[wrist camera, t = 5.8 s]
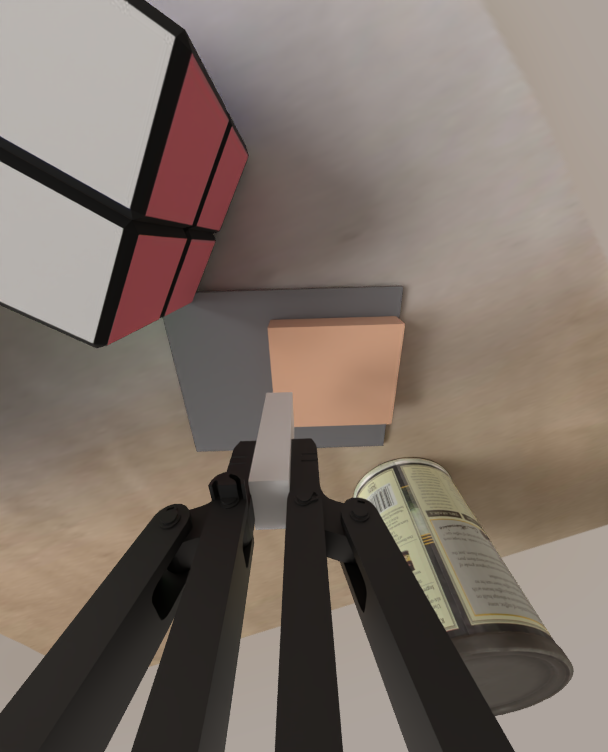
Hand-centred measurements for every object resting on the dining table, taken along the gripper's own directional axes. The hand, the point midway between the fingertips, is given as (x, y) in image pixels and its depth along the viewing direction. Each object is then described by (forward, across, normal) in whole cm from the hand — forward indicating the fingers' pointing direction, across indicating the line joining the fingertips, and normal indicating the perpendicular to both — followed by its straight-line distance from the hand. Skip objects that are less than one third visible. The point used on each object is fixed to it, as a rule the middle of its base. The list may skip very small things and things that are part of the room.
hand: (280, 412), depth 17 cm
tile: (+5, -1, 0) cm, 5 cm away
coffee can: (+7, +11, -15) cm, 20 cm away
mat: (+6, 0, -1) cm, 6 cm away
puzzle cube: (+6, -8, +12) cm, 16 cm away
